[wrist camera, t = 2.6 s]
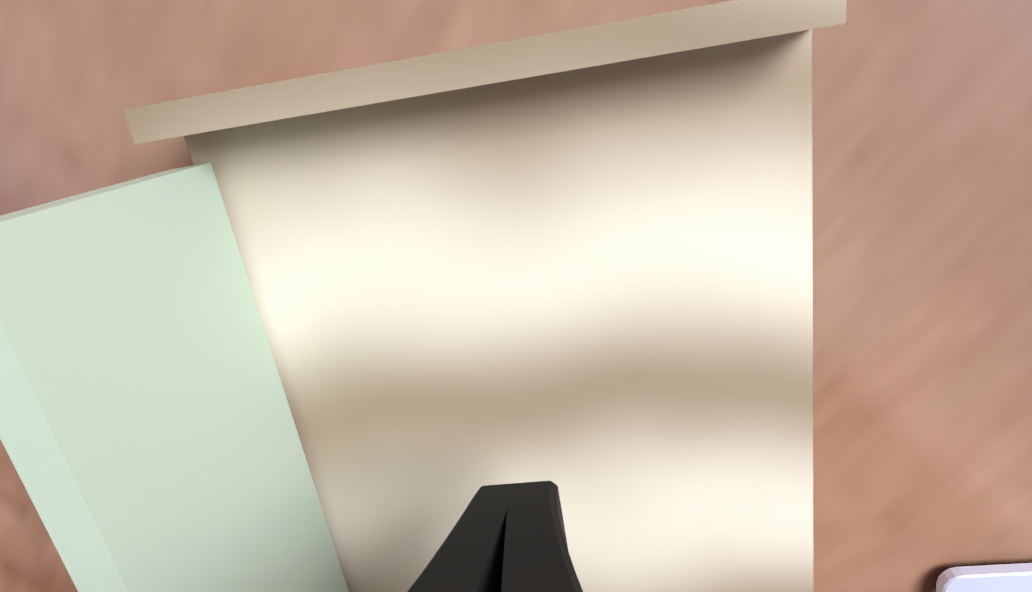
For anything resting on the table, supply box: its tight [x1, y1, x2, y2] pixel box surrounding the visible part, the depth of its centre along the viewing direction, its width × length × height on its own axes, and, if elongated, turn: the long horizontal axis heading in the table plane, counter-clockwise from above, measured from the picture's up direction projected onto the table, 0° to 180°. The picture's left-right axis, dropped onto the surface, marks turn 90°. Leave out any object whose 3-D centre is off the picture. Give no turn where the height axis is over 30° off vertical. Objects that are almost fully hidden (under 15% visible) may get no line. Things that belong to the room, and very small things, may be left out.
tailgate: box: [0, 162, 349, 592], centre depth 12 cm, size 14×1×6 cm, turn 9°
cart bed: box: [122, 0, 847, 592], centre depth 15 cm, size 16×12×4 cm
